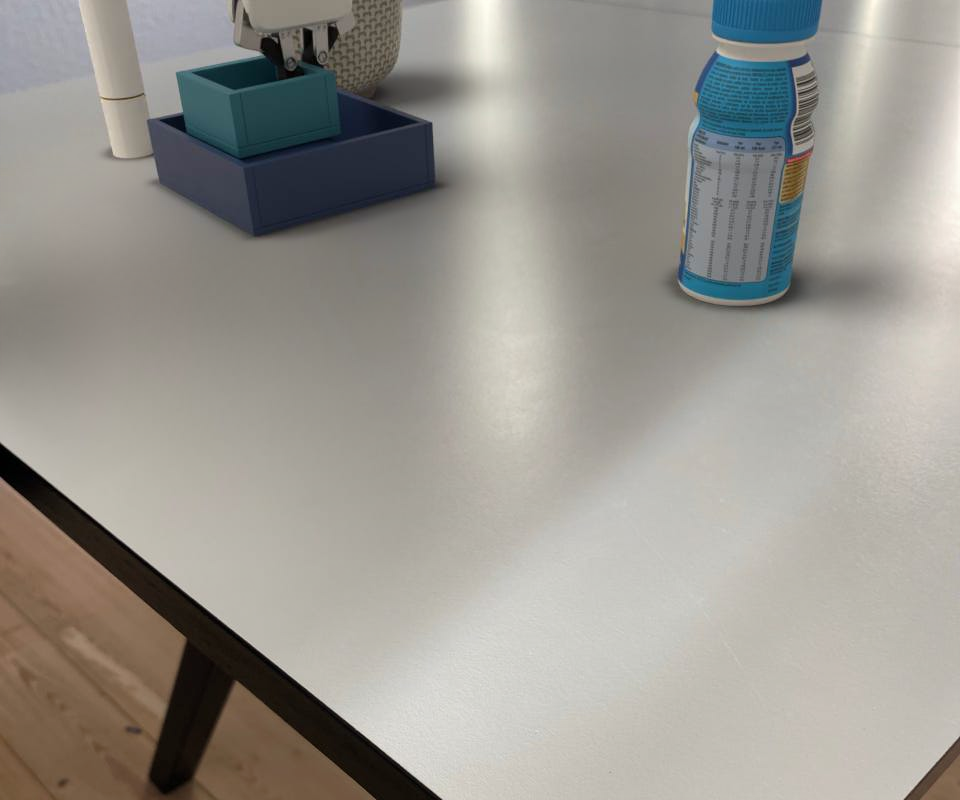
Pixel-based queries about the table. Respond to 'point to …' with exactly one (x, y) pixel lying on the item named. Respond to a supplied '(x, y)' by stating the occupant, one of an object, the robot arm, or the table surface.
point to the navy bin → (301, 168)
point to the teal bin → (258, 106)
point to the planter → (364, 46)
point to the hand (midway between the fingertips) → (305, 112)
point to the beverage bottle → (749, 152)
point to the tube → (118, 76)
